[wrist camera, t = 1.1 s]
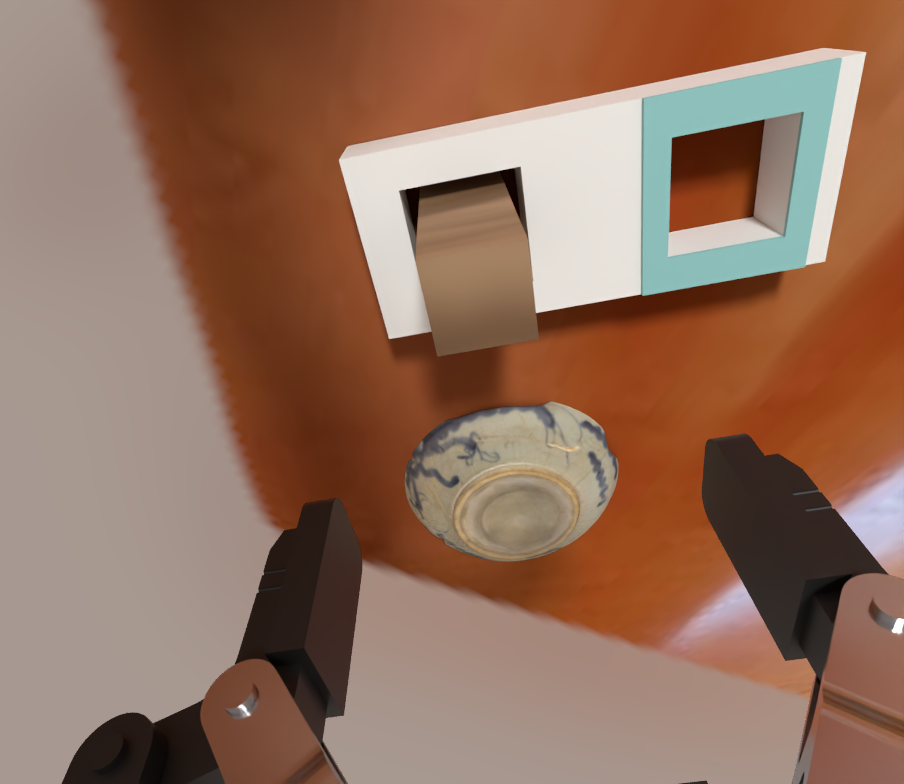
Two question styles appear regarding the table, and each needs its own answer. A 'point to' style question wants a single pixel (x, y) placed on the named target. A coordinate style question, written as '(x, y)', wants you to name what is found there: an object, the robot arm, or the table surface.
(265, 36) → the table surface
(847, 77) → the socket rail
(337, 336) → the table surface
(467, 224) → the walnut peg
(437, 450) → the decorative bowl
